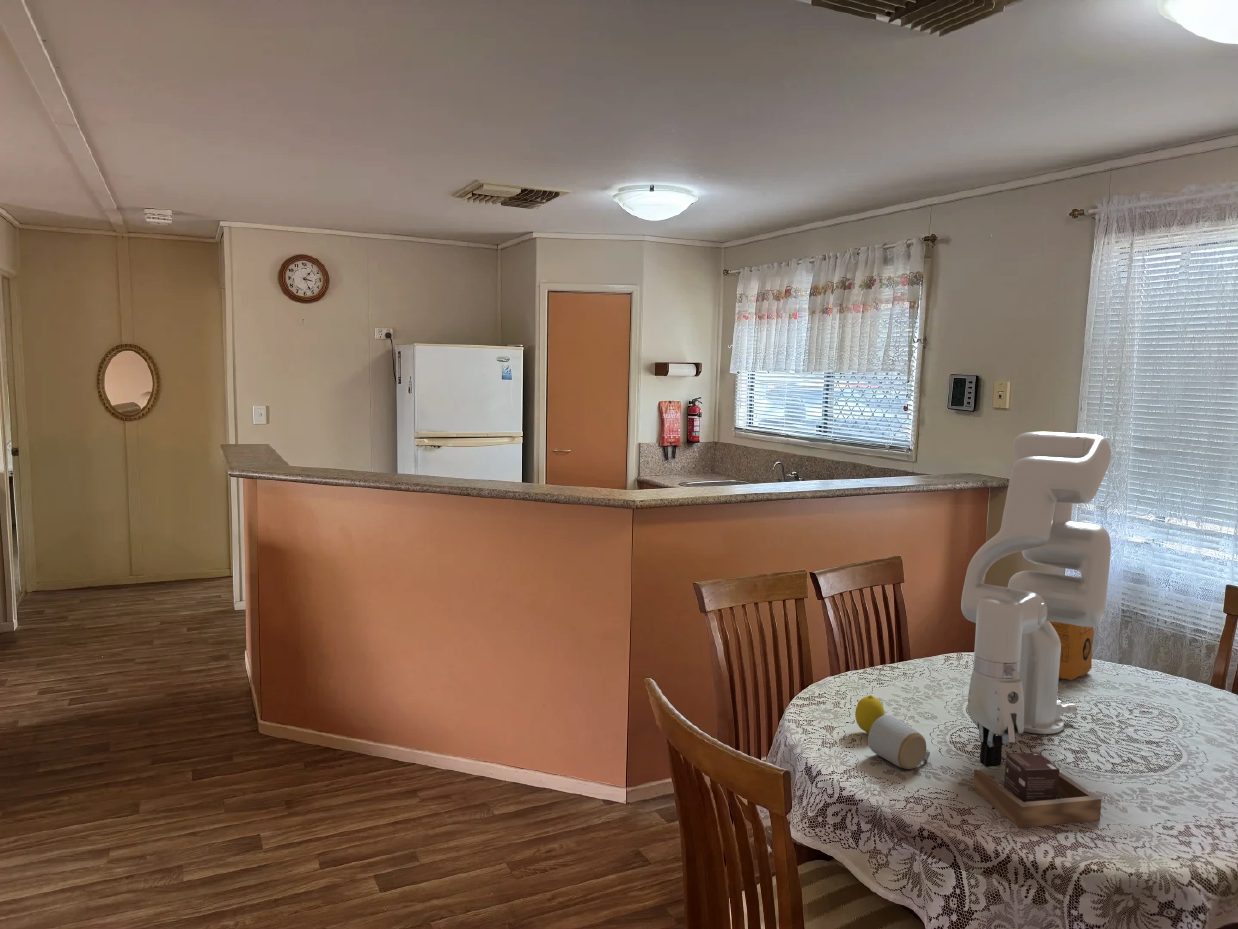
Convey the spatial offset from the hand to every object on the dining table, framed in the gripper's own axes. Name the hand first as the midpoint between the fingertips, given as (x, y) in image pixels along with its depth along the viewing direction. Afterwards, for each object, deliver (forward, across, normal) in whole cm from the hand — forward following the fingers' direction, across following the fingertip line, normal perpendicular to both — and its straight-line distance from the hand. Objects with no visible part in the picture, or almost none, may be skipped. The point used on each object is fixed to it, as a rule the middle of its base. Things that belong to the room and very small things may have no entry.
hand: (990, 764), depth 150 cm
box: (+2, -11, 0) cm, 11 cm away
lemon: (+2, +18, +14) cm, 23 cm away
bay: (+1, -12, 0) cm, 12 cm away
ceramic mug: (+2, +7, +14) cm, 15 cm away
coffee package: (+2, +42, -50) cm, 65 cm away
